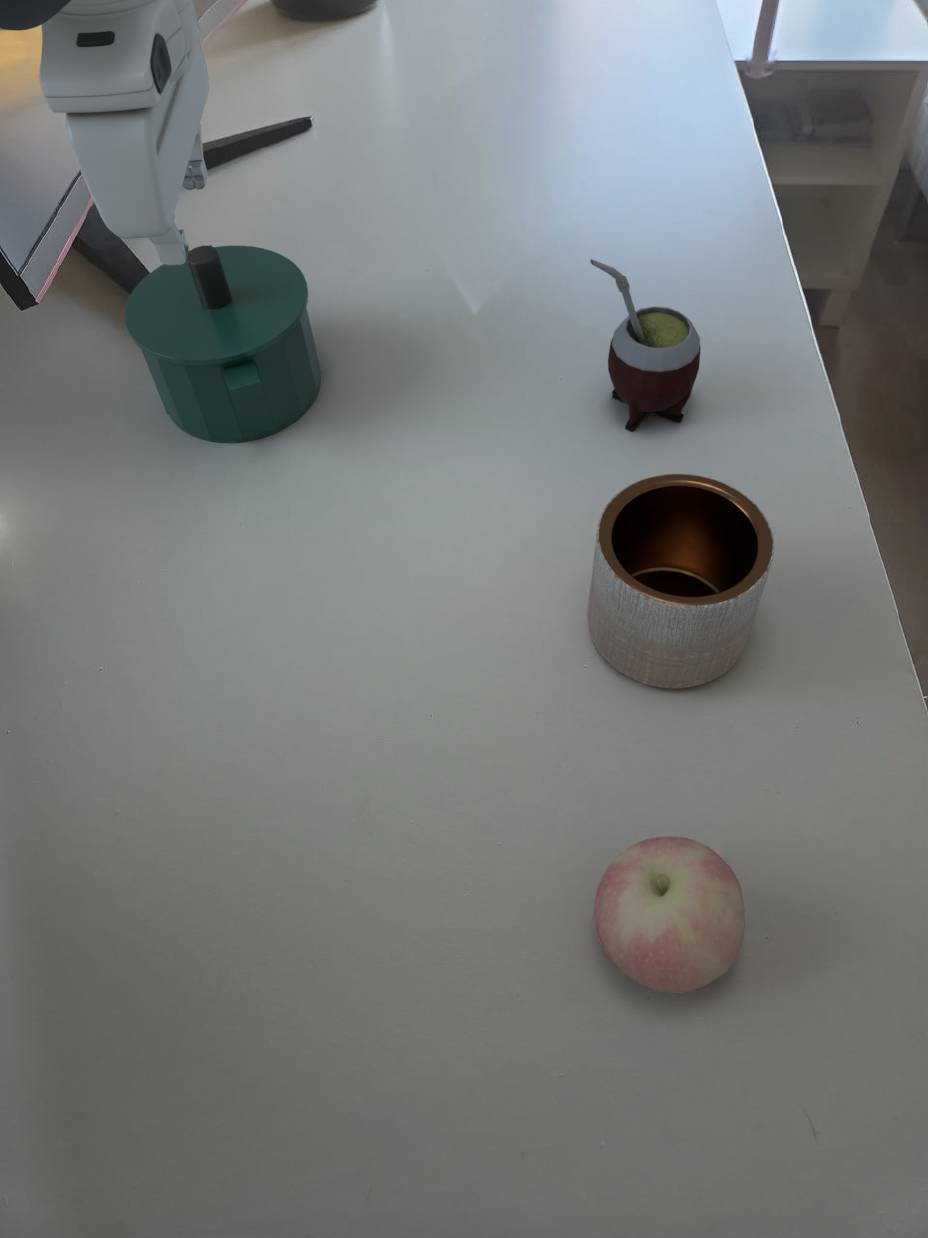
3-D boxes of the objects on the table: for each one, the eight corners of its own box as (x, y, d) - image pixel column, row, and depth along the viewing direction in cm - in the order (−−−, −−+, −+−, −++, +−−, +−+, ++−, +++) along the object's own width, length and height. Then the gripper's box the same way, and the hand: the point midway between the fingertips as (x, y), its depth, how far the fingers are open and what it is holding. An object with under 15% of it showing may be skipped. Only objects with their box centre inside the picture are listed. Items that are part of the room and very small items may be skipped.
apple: (678, 848, 57) (698, 790, 51) (760, 963, 53) (793, 916, 47) (564, 913, 55) (570, 861, 49) (640, 1037, 51) (657, 999, 45)
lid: (146, 392, 71) (122, 336, 67) (115, 284, 79) (93, 228, 75) (331, 340, 74) (320, 282, 69) (284, 239, 82) (271, 182, 77)
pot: (186, 483, 77) (153, 402, 70) (148, 343, 87) (116, 260, 80) (347, 436, 79) (330, 353, 72) (291, 304, 89) (272, 221, 82)
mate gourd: (704, 396, 79) (737, 232, 67) (661, 456, 76) (687, 293, 63) (624, 366, 82) (641, 202, 70) (578, 422, 78) (588, 260, 66)
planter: (760, 691, 63) (793, 605, 55) (593, 696, 63) (603, 612, 56) (732, 561, 69) (758, 467, 61) (580, 567, 70) (587, 474, 62)
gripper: (105, -53, 65) (167, 146, 76) (30, 99, 53) (117, 309, 65) (197, -59, 65) (246, 142, 76) (142, 93, 53) (210, 304, 64)
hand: (186, 220), depth 70 cm, fingers open, 8 cm apart
